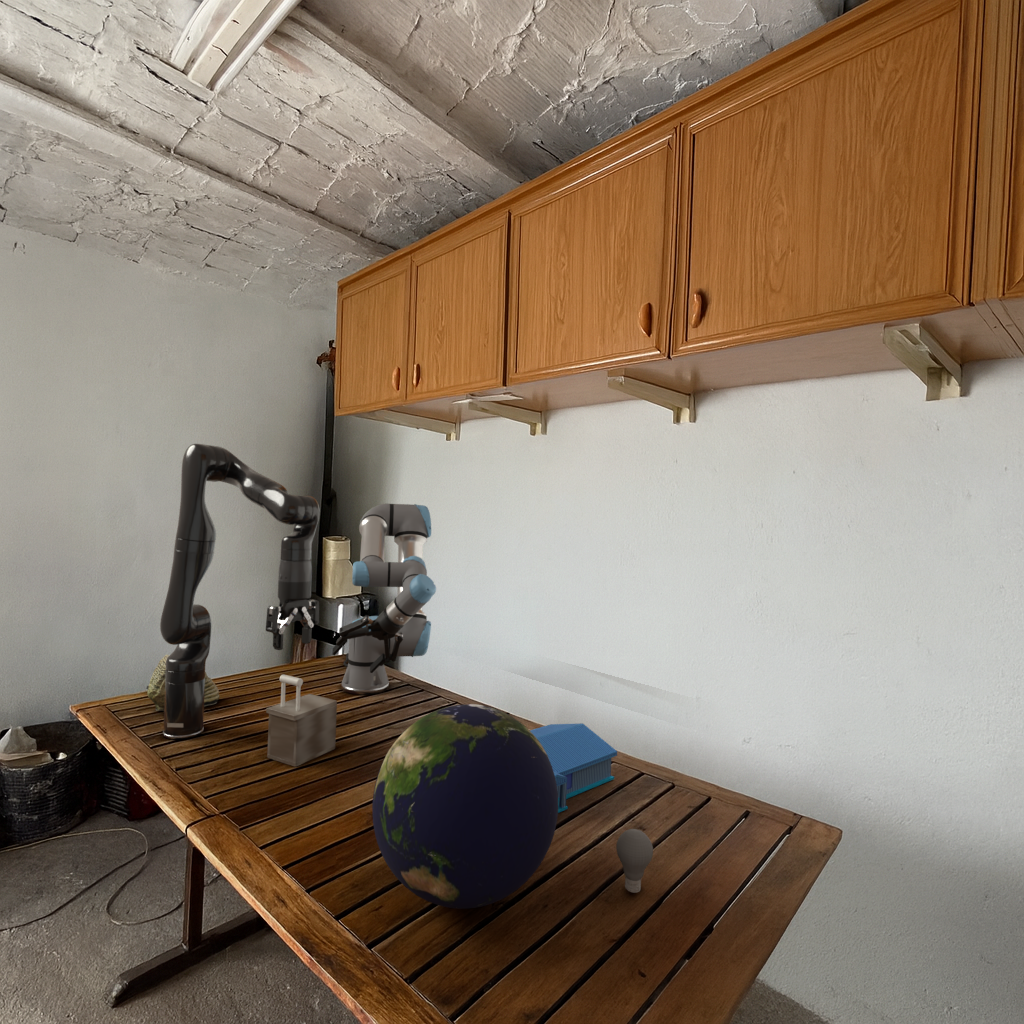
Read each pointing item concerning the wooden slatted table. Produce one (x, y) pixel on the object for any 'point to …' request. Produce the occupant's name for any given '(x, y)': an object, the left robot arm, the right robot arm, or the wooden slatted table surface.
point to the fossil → (158, 687)
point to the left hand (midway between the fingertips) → (292, 646)
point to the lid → (298, 702)
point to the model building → (575, 758)
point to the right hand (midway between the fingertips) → (352, 661)
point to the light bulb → (634, 857)
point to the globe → (465, 806)
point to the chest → (301, 737)
